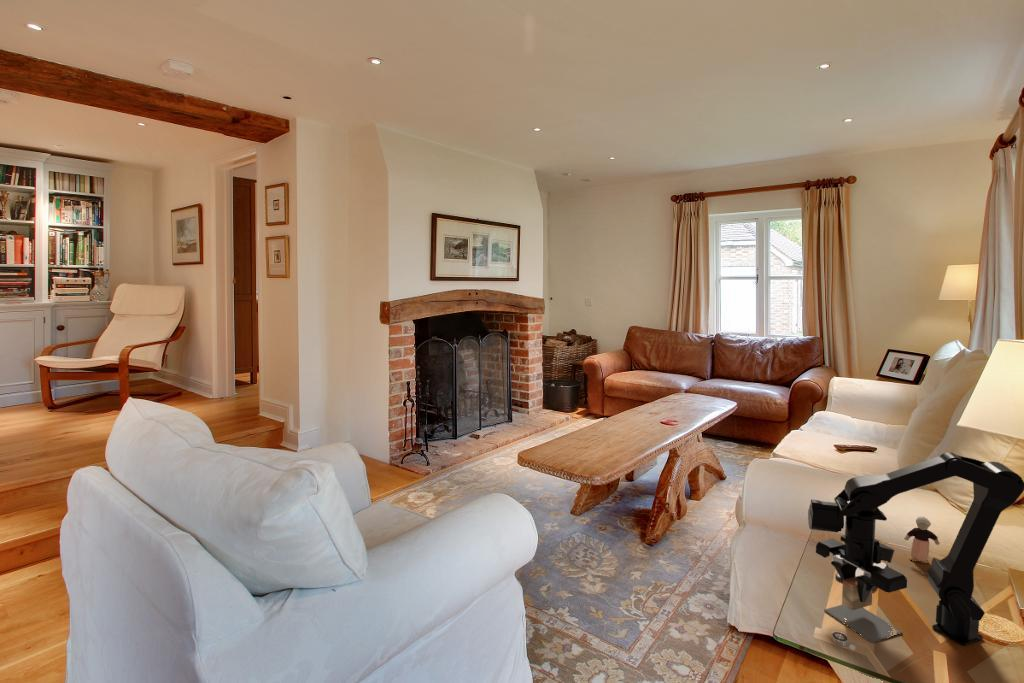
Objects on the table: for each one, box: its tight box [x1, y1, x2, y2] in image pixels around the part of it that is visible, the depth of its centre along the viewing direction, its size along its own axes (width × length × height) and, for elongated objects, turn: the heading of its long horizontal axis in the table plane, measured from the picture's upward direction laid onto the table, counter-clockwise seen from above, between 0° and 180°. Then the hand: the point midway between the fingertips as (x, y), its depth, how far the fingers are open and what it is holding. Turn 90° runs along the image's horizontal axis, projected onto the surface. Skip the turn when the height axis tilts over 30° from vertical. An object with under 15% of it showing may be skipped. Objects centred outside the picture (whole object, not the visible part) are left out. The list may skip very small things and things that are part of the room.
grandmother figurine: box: [903, 516, 941, 565], centre depth 147 cm, size 8×4×13 cm, turn 73°
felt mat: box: [823, 604, 903, 644], centre depth 123 cm, size 12×9×1 cm
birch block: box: [841, 575, 873, 610], centre depth 124 cm, size 3×6×6 cm, turn 108°
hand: (857, 598), depth 124 cm, fingers closed on birch block, 3 cm apart
